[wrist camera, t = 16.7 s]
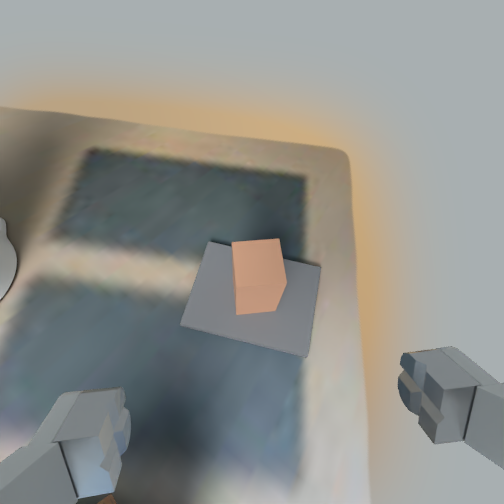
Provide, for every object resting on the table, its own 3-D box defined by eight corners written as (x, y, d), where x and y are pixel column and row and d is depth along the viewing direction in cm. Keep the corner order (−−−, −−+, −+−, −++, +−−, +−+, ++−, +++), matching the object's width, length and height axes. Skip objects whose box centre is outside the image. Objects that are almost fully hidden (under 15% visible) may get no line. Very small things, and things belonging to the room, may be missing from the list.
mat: (181, 326, 39) (179, 324, 38) (209, 244, 44) (208, 241, 43) (306, 357, 38) (307, 356, 37) (319, 270, 43) (320, 267, 42)
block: (236, 315, 39) (236, 287, 30) (232, 278, 41) (231, 242, 32) (275, 311, 39) (287, 282, 30) (269, 274, 41) (279, 238, 32)
